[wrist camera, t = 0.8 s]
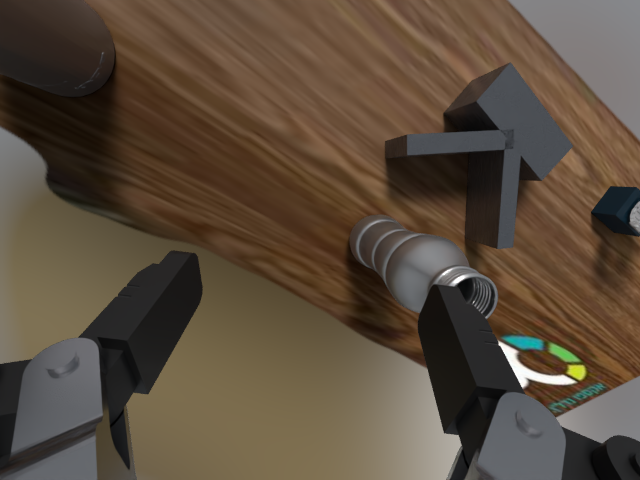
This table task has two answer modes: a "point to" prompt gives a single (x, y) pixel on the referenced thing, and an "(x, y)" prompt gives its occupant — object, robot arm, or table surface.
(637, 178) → the table surface
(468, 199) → the v block
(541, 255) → the table surface
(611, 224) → the watch
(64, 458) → the robot arm
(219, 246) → the table surface
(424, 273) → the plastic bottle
